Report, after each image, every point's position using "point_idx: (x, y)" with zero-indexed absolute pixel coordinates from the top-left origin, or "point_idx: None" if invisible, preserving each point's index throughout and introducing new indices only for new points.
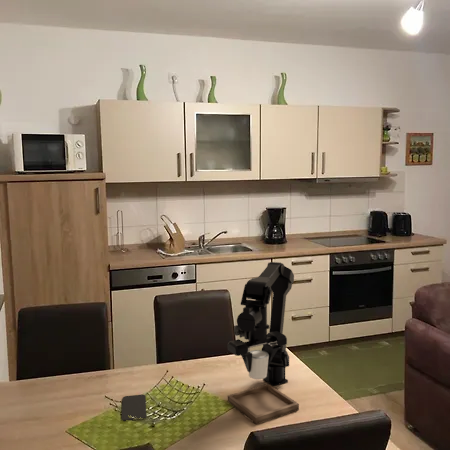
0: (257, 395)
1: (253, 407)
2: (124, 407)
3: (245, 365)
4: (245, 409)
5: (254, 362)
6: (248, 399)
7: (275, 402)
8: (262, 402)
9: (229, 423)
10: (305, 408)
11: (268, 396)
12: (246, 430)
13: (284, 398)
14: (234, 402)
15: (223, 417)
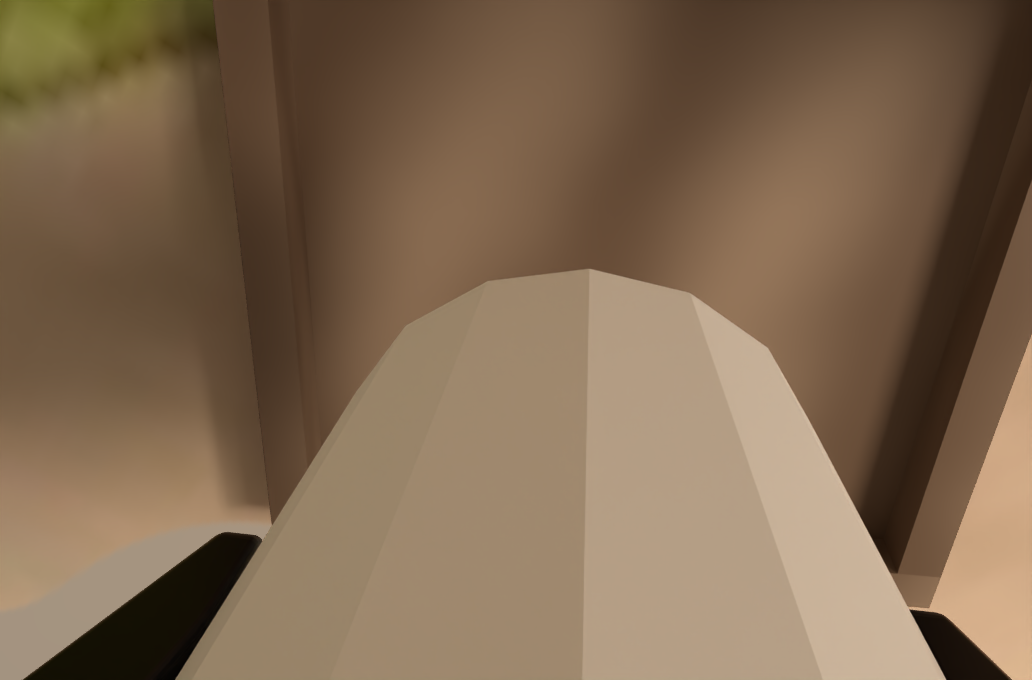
0: (744, 16)
1: (446, 276)
2: None
3: (77, 649)
4: (256, 351)
5: None
6: (527, 41)
7: (791, 345)
8: (645, 242)
9: (34, 330)
10: (993, 567)
11: (859, 152)
12: (156, 518)
13: (945, 388)
14: (227, 60)
15: (6, 183)
